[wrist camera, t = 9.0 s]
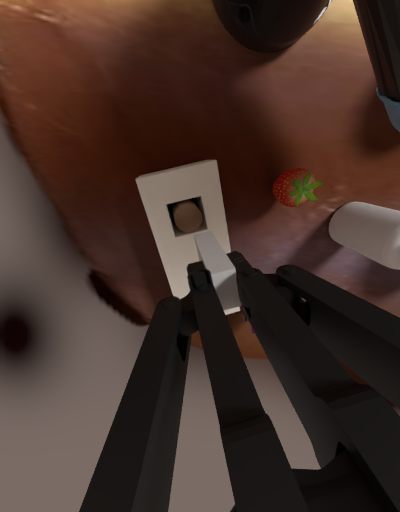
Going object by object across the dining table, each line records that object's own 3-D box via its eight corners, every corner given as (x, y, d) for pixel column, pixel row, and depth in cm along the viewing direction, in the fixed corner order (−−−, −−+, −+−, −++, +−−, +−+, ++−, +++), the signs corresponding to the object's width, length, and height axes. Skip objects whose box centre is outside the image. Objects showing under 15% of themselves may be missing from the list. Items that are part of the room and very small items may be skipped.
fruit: (277, 207, 36) (306, 219, 29) (257, 187, 34) (283, 195, 27) (300, 180, 35) (337, 186, 27) (280, 158, 33) (314, 158, 25)
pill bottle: (325, 246, 41) (405, 289, 27) (328, 206, 37) (423, 232, 24) (362, 237, 41) (458, 275, 28) (369, 196, 38) (484, 217, 25)
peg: (169, 200, 31) (171, 208, 26) (192, 194, 32) (199, 201, 26) (175, 223, 33) (178, 235, 28) (197, 217, 33) (204, 228, 28)
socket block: (139, 175, 30) (135, 179, 25) (206, 159, 31) (216, 160, 25) (180, 304, 41) (183, 326, 35) (229, 291, 41) (240, 310, 36)
